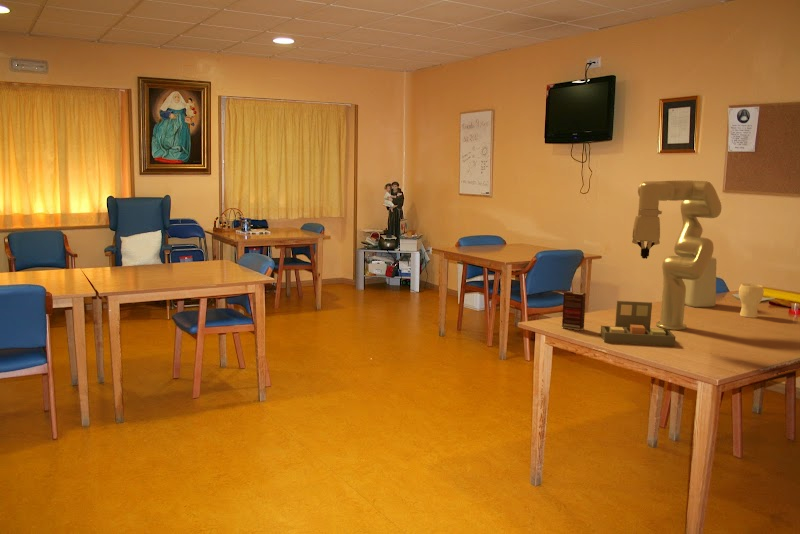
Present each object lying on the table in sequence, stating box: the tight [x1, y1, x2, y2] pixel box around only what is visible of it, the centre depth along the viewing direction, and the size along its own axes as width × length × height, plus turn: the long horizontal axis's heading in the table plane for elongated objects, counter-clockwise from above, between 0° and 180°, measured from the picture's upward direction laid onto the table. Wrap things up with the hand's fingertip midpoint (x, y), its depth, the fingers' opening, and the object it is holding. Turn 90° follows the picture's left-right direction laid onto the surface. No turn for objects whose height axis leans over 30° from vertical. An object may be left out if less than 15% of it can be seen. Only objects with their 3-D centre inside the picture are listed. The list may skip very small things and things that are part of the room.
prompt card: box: [614, 300, 653, 329], centre depth 292 cm, size 2×14×14 cm, turn 82°
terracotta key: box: [630, 325, 645, 334], centre depth 283 cm, size 5×5×3 cm
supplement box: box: [561, 290, 587, 332], centre depth 300 cm, size 9×5×16 cm, turn 59°
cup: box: [738, 283, 765, 319], centre depth 334 cm, size 11×11×15 cm
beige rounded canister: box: [682, 256, 717, 308], centre depth 358 cm, size 15×15×28 cm
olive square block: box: [650, 328, 666, 335], centre depth 282 cm, size 5×5×3 cm
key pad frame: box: [600, 325, 676, 347], centre depth 283 cm, size 12×27×4 cm, turn 81°
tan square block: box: [609, 327, 624, 333], centre depth 284 cm, size 5×5×3 cm
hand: (644, 258), depth 285 cm, fingers closed
